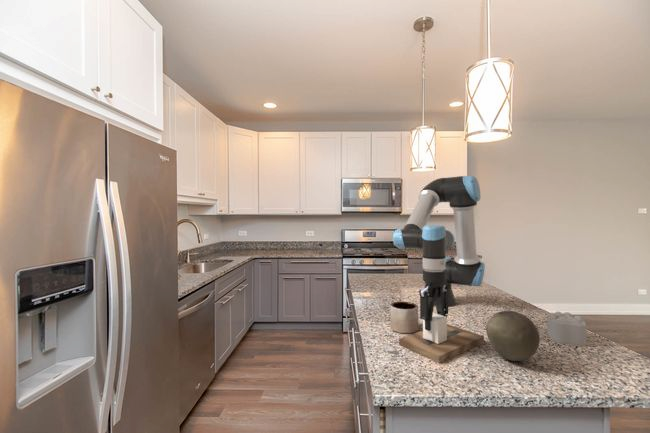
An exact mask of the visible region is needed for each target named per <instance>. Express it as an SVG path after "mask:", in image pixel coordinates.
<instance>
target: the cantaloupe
mask: <svg viewBox="0 0 650 433" xmlns="http://www.w3.org/2000/svg"><path fill="white" fill-rule="evenodd" d="M486 336H487V340H488V341H489V343H490V345H491V347H492V348H493V350H494V352H496V353H497V354H498V355H499V356H500V357H502V358H504V359H506V360H508V361H510V362H511V361H512V362H519V361H520V362H521V361H526V360H528V359H531V357H532V358H533V356H534V355H535V354H536V353H537V351H538V348H539V347H540V343H541V341H540V338H541V336H540V333H539V329H538V327H537V326H536V324H535V323H534V322H533V321H532V319H530V318H529V317H528V316H526V315H524V314H523V313H521V312H517V311H512V310H502V311H498V312H495V314H493V315H492V316H491V317H490V319H489V320H488V321H487V323H486Z"/></svg>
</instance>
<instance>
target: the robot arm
mask: <svg viewBox="0 0 650 433" xmlns="http://www.w3.org/2000/svg"><path fill="white" fill-rule="evenodd" d="M417 199H418V201H416V202H417V203H416V204H415V206H414V207H413V210H412V211H411V214H410V216H409V217H408V219H407V221H406V223H405V225H404V226H403V228H400V229H399V228H398V229H395V230H394V231H393V234H392V243H393V245H394V246H395V247H396V248H400V249H412V250H413V249H415V250H422V269H423V270H422V281H423V282H424V283H425V284H424V289H419V290H418V293H419V305H420V306H419V308H420V309H419V318H420V319H421V320H422V321H423V320H425V330H426V339H429V340H431V341H433V340H434V324H433V321H432V315H433V313H434V307H436V314H439V315H442V316H446V317H447V318H448V314H449V307H452V306H455V305H456V298H455V295H454V293H453V289H452V285H458V286H459V285H460V286H467V287H480V286H482V283H483V280H484V275H485V263H484V262H482V261H481V258H480V257H479V256H478V255H477V243H476V228H475V211H474V209H475V207H476V206H477V205H478V202H480V201H481V189H480V184H479V181H478V179H477V178H476V177H475V176H474V175H462V176H461V175H459V176H449V177H440V178H436V179H434V180H432V181H431V182H429V183H428V184H426V185H425V186H424V187H422V189H421V191H420V193H419V194H418V198H417ZM440 203H448V204H449V208H451V209H452V210H453V220H454V232H455V234H453V233H452V231H450V230H447V229H446V227H445V226H444V225H428V224H427V223H428V221H429V219H430V217H431V215H432V213H433V210H434V208H435V207H437V206H438V204H440ZM454 243H455V246H456V247H455V248H456V255H455V257H454V258H453V260H452V258H451V256H446V252H447V250H449V249H450V248H451V249H452V247H453V246H454Z"/></svg>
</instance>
